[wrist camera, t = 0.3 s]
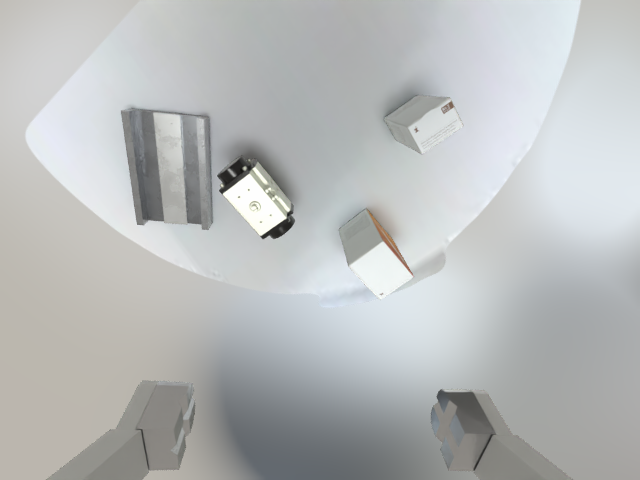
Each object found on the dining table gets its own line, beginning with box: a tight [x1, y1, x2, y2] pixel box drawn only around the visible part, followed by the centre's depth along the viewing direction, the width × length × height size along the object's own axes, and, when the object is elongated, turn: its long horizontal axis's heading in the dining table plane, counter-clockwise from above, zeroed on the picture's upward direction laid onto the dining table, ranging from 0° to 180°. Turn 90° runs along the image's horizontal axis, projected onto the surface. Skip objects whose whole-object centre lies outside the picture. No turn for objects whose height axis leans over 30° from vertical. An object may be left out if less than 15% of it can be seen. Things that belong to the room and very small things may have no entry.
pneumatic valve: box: [217, 156, 295, 239], centre depth 49 cm, size 6×12×12 cm, turn 35°
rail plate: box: [121, 109, 213, 230], centre depth 52 cm, size 17×11×3 cm, turn 174°
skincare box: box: [384, 95, 464, 154], centre depth 46 cm, size 6×4×12 cm
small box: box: [339, 208, 414, 300], centre depth 54 cm, size 8×6×13 cm
